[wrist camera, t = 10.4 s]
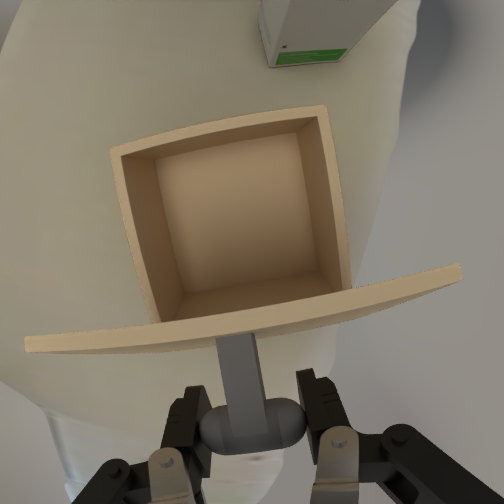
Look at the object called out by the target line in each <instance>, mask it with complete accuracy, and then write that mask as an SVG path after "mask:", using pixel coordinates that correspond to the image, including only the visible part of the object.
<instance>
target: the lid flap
mask: <svg viewBox="0 0 504 504" xmlns="http://www.w3.org/2000/svg"><path fill="white" fill-rule="evenodd" d="M461 280H463V276H462V273H461V269H460V265H459V263H454V264H451V265H447V266H444V267H440V268H436V269H432V270H428V271H424V272H421V273H417V274H413V275H409V276H405V277H401V278H397V279H392V280H388V281H384V282H380V283H376V284H371V285H367V286H362V287H358V288H354V289H349V290H344V291H340V292H335V293H330V294H326V295H321V296H316V297H311V298H306V299H301V300H296V301H291V302H286V303H280V304H275V305H270V306H264V307H259V308H253V309H247V310H241V311H236V312H230V313H223V314H217V315H211V316H205V317H198V318H191V319H185V320H178V321H171V322H163V323H156V324H148V325H140V326H132V327H124V328H115V329H106V330H97V331H87V332H77V333H65V334H54V335H41V336H26V337H24V340H25V352H31V353H53V354H136V353H160V352H170V351H179V350H187V349H195V348H203V347H210V346H217V351H218V357H219V363H220V369H221V375H222V380H223V386H224V391H225V397H226V402H227V405H223V406H218V407H215V408H213V409H211V410H209V411H208V412H207V413H206V414H205V415H204V416H203V418H202V419H201V422H200V425H199V434H200V438H201V440H202V442H203V444H204V445H205V446H206V447H207V448H208V449H209V450H211V451H212V452H214V453H217V454H220V455H237V454H247V453H255V452H263V451H270V450H277V449H283V448H287V447H290V446H292V445H294V444H296V443H297V442H298V441H300V439H301V438H302V437H303V436H304V434H305V432H306V429H307V418H306V413H305V411H304V409H303V408H302V407H301V406H300V405H299V404H298V403H297V402H295V401H293V400H291V399H288V398H273V399H267V400H266V396H265V391H264V385H263V380H262V374H261V368H260V363H259V357H258V351H257V346H256V340H255V339H261V338H267V337H272V336H278V335H283V334H288V333H294V332H299V331H304V330H308V329H313V328H318V327H323V326H327V325H332V324H336V323H341V322H345V321H349V320H353V319H357V318H360V317H363V316H366V315H369V314H372V313H375V312H378V311H381V310H384V309H387V308H389V307H393V306H395V305H398V304H401V303H404V302H407V301H409V300H412V299H415V298H417V297H420V296H423V295H425V294H428V293H430V292H433V291H436V290H438V289H441V288H443V287H446V286H448V285H451V284H453V283H456V282H458V281H461Z"/></svg>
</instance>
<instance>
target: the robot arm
mask: <svg viewBox="0 0 504 504" xmlns="http://www.w3.org/2000/svg"><path fill="white" fill-rule="evenodd" d="M296 378H297V385H298V393H299V400H300V405H301V407H302V408H303V409H304V411H305V413H306V418H307V429H306V432H307V436H308V441H309V445H310V450H311V454H312V458H313V463H314V465H317V471H316V478H315V483H314V484H313V487H312V493H311V499H310V504H358V499H359V483H365V482H367V483H369V482H376V483H377V484H378V485H379V486H380V487H381V488H382V489H383V490H384V491H385V492H386V494H387V495H388V496H389V497H390V498H391V499H392V500H393V501H394V502H395V503H396V504H504V498H502V497H501V496H500V495H499V494H497V493H496V492H494V491H493V490H492V489H490V488H489V487H488V486H487V485H485V484H484V483H483V482H482V481H480V480H479V479H478V478H476V477H475V476H474V475H472V474H471V473H470V472H469V471H467V470H466V469H465V468H463V467H462V466H461V465H460V464H458V463H457V462H456V461H455V460H453V459H452V458H451V457H449V456H448V455H447V454H446V453H444V452H443V451H442V450H441V449H439V448H438V447H437V446H436V445H434V444H433V443H432V442H431V441H429V440H428V439H427V438H426V437H424V436H423V435H422V434H421V433H420V432H418V431H417V430H416V429H415V428H413V427H412V426H410V425H407V424H396V425H392V426H390V427H389V428H387V429H386V430H385V431H384V432H383V434H362V433H359V432H357V431H356V430H354V429H353V428H352V427H351V425H350V423H349V421H348V418H347V415H346V413H345V410H344V407H343V405H342V402H341V400H340V397H339V395H338V393H337V389H336V387H335V384H334V383H333V382H332V381H331V380H330V379H329V378H327V377H323V378H318V379H316V377H315V374H314V371H313V369H312V368H310V369H305V370H300V371H296ZM211 409H212V406H211V404H210V401H209V398H208V395H207V393H206V390H205V387H204V386H203V385H199V386H189V387H186V389H185V393H184V398H177V399H176V400H175V401H174V403H173V404H172V405H171V406H170V410H169V414H168V418H167V424H166V426H165V430H164V434H163V439H162V443H161V447H160V449H158V450H157V451H155V452H154V453H153V454H152V455H151V456H150V458H149V460H148V461H146V462H143V463H138V464H134V465H129V464H128V463H127V462H126V461H124V460H122V459H111V460H109V461H107V462H105V463H104V464H103V465H102V466H101V467H100V469H99V470H98V471H97V472H96V474H95V475H94V476H93V477H92V479H91V480H90V481H89V482H88V484H87V485H86V486H85V487H84V489H83V490H82V491H81V492H80V494H79V495H78V496H77V497H76V499H75V500H74V501H73V502H72V504H207V503H206V499H205V495H204V492H203V489H202V487H201V481H202V478H210V468H211V455H212V451H211V450H209V449H208V448H207V447H206V446H205V445H204V444H203V442H202V440H201V438H200V434H199V425H200V422H201V419H202V418H203V416H204V415H205V414H206V413H207V412H208V411H209V410H211Z"/></svg>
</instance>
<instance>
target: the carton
mask: <svg viewBox="0 0 504 504" xmlns="http://www.w3.org/2000/svg"><path fill="white" fill-rule="evenodd" d="M109 150H110V156H111V162H112V167H113V173H114V178H115V183H116V188H117V193H118V198H119V203H120V207H121V212H122V216H123V221H124V225H125V229H126V233H127V238H128V242H129V246H130V249H131V253H132V257H133V261H134V264H135V268H136V272H137V275H138V279H139V282H140V286H141V289H142V292H143V296H144V299H145V302H146V305H147V309H148V312H149V315H150V318H151V321H152V324H156V323H163V322H171V321H178V320H185V319H191V318H198V317H205V316H211V315H217V314H223V313H230V312H236V311H241V310H247V309H253V308H259V307H264V306H270V305H275V304H280V303H286V302H291V301H296V300H301V299H306V298H311V297H316V296H321V295H326V294H330V293H335V292H340V291H344V290H349V289H352V285H351V272H350V261H349V250H348V241H347V232H346V223H345V215H344V207H343V200H342V193H341V186H340V179H339V173H338V167H337V161H336V155H335V149H334V143H333V138H332V133H331V127H330V122H329V117H328V112H327V108H326V105H316V106H306V107H297V108H289V109H281V110H274V111H267V112H261V113H255V114H248V115H243V116H237V117H232V118H226V119H221V120H216V121H211V122H207V123H202V124H197V125H193V126H189V127H184V128H180V129H176V130H172V131H168V132H164V133H161V134H157V135H153V136H149V137H146V138H142V139H139V140H135V141H132V142H129V143H125V144H122V145H119V146H116V147H113V148H110V149H109Z"/></svg>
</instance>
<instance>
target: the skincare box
mask: <svg viewBox="0 0 504 504" xmlns="http://www.w3.org/2000/svg"><path fill="white" fill-rule="evenodd" d="M397 1H398V0H261V5H260V11H259V18H258V25H259V29H260V33H261V37H262V41H263V45H264V49H265V53H266V57H267V61H268V64H269V67H271V68H273V67H280V66H291V65H301V64H311V63H325V62H340V61H341V60H342V59H343V58H344V57H345V55H346V54H347V53H348V52H349V51H350V50H351V49H352V48H353V47H354V46H355V44H356V43H357V42H358V41H359V40H360V39H361V38H362V37H363V36H364V35H365V34H366V33H367V32H368V30H369V29H370V28H371V27H372V26H373V25H374V24H375V23H376V22H377V21H378V20H379V19H380V18H381V17H382V16H383V15H384V14H385V13H386V12H387V11H388V10H389V9H390V8H391V7H392V6H393V5H394V4H395V3H396V2H397Z"/></svg>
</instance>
